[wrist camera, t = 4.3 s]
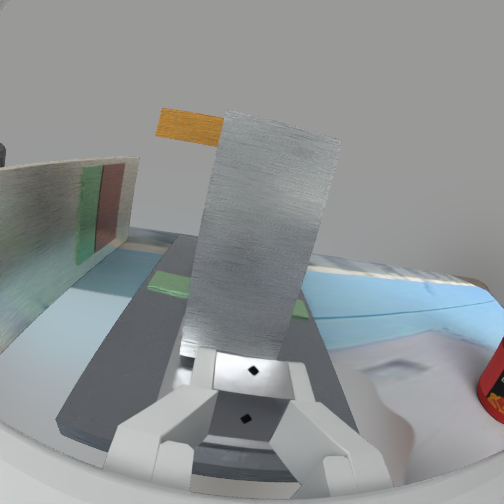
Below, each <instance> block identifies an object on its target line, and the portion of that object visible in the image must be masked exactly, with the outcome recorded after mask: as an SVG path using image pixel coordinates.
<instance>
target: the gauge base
mask: <svg viewBox="0 0 504 504" xmlns="http://www.w3.org/2000/svg"><path fill="white" fill-rule="evenodd" d="M139 160H140V158H139V157H134V156H124V157H100V158H83V159H70V160H59V161H48V162H39V163H30V164H22V165H15V166H9V167H1V168H0V354H1V353H2V352H3V351H4V350H5V349H6V348H7V347H8V346H9V345H10V344H11V343H12V342H13V341H14V340H15V339H16V338H17V337H18V336H19V335H20V334H21V333H22V332H23V331H24V330H25V329H26V328H27V327H28V326H29V325H30V324H31V323H32V322H33V321H34V320H35V319H36V318H37V317H38V316H39V315H40V314H41V313H42V312H43V311H45V310H46V309H47V308H48V307H49V306H50V305H51V304H52V303H53V302H54V301H55V300H56V299H58V298H59V297H60V296H61V295H62V294H63V293H64V292H65V291H67V290H68V289H69V288H70V287H71V286H72V285H73V284H75V283H76V282H77V281H78V280H79V279H80V278H81V277H83V276H84V275H85V274H86V273H87V272H88V271H90V270H91V269H92V268H93V267H94V266H96V265H97V264H98V263H99V262H100V261H102V260H103V259H104V258H105V257H106V256H108V255H109V254H110V253H111V252H113V251H114V250H115V249H116V248H118V247H119V246H120V245H121V244H123V243H124V242H125V241H126V240H128V233H129V224H130V216H131V209H132V202H133V195H134V189H135V182H136V177H137V171H138V165H139ZM197 242H198V237H193V236H188V235H184V234H180V235H179V236H178V237H177V239H176V240H175V241H174V243H173V244H172V245H171V247H170V248H169V249H168V250H167V252H166V253H165V254H164V256H163V257H162V258H161V260H160V261H159V262H158V264H157V265H156V266H155V268H154V269H153V271H152V272H151V273H150V275H149V276H148V277H147V279H146V280H145V281H144V283H143V284H142V286H141V287H140V288H139V290H138V291H137V293H136V294H135V295H134V297H133V298H132V300H131V301H130V303H129V304H128V306H127V307H126V308H125V310H124V311H123V313H122V314H121V315H120V317H119V318H118V320H117V321H116V323H115V325H114V326H113V327H112V329H111V330H110V332H109V333H108V335H107V336H106V338H105V339H104V341H103V342H102V344H101V345H100V347H99V348H98V350H97V351H96V353H95V355H94V356H93V358H92V359H91V361H90V362H89V364H88V366H87V367H86V369H85V371H84V372H83V374H82V375H81V377H80V379H79V380H78V382H77V383H76V385H75V387H74V388H73V390H72V392H71V393H70V395H69V397H68V398H67V400H66V402H65V404H64V405H63V407H62V409H61V410H60V412H59V414H58V416H57V417H56V422H57V425H58V427H59V430H60V433H61V434H62V435H64V436H66V437H68V438H71V439H73V440H76V441H78V442H81V443H83V444H86V445H88V446H91V447H94V448H97V449H99V450H102V451H105V452H109V449H110V446H111V443H112V441H113V438H114V436H115V433H116V430H117V428H118V425H120V424H121V423H123V422H125V421H126V420H128V419H130V418H131V417H133V416H135V415H136V414H138V413H139V412H141V411H143V410H144V409H146V408H147V407H149V406H151V405H152V404H154V403H155V402H157V401H158V400H160V399H162V398H163V397H165V396H166V395H168V394H169V393H171V392H172V391H174V390H175V389H177V388H178V387H180V386H181V385H183V384H188V385H190V380H191V375H192V370H193V365H194V361H195V358H192V357H188V356H183V355H179V354H180V347H181V340H182V333H183V326H184V319H185V312H186V306H187V299H188V293H189V287H190V281H191V275H192V269H193V264H194V258H195V253H196V247H197ZM276 361H283V362H286V361H289V362H299V363H303V364H304V365H305V367H306V370H307V374H308V377H309V381H310V384H311V387H312V391H313V394H314V398H315V401H316V402H321V403H322V404H323V405H324V406H326V407H327V408H328V409H329V410H330V411H331V412H333V413H334V414H335V415H336V416H337V417H339V418H340V419H341V420H342V421H343V422H345V423H346V424H347V425H348V426H349V427H351V428H352V429H353V430H354V431H355V432H357V433H358V434H359V432H358V429H357V427H356V424H355V421H354V419H353V416H352V413H351V411H350V408H349V406H348V403H347V400H346V398H345V395H344V393H343V390H342V388H341V385H340V383H339V380H338V377H337V375H336V372H335V370H334V368H333V365H332V362H331V360H330V357H329V355H328V353H327V350H326V348H325V345H324V343H323V340H322V338H321V335H320V333H319V331H318V328H317V326H316V323H315V321H314V319H313V316H312V314H311V311H310V309H309V307H308V304H307V302H306V300H305V297H304V295H303V293H302V290H301V289H300V292H299V295H298V298H297V301H296V304H295V307H294V310H293V313H292V316H291V319H290V322H289V325H288V328H287V331H286V333H285V336H284V339H283V342H282V345H281V348H280V351H279V353H278V356H277V359H276ZM359 435H360V434H359ZM192 474H197V475H203V476H211V477H217V478H226V479H235V480H247V481H263V482H298V481H297V480H296V478H295V477H294V476H293V475H292V473H291V472H290V471H289V469H288V468H287V467H286V466H285V464H284V463H283V462H282V460H281V459H280V458H279V456H278V455H277V454H276V452H275V451H274V450H273V448H272V447H271V446H270V444H269V442H263V441H254V440H246V439H239V438H230V437H222V436H214V435H208V436H207V437H206V438H205V439H204V440H203V441H202V442H201V443H200V444H199V445H198V446H197V447H196V448H195V449H194V455H193V464H192Z"/></svg>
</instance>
